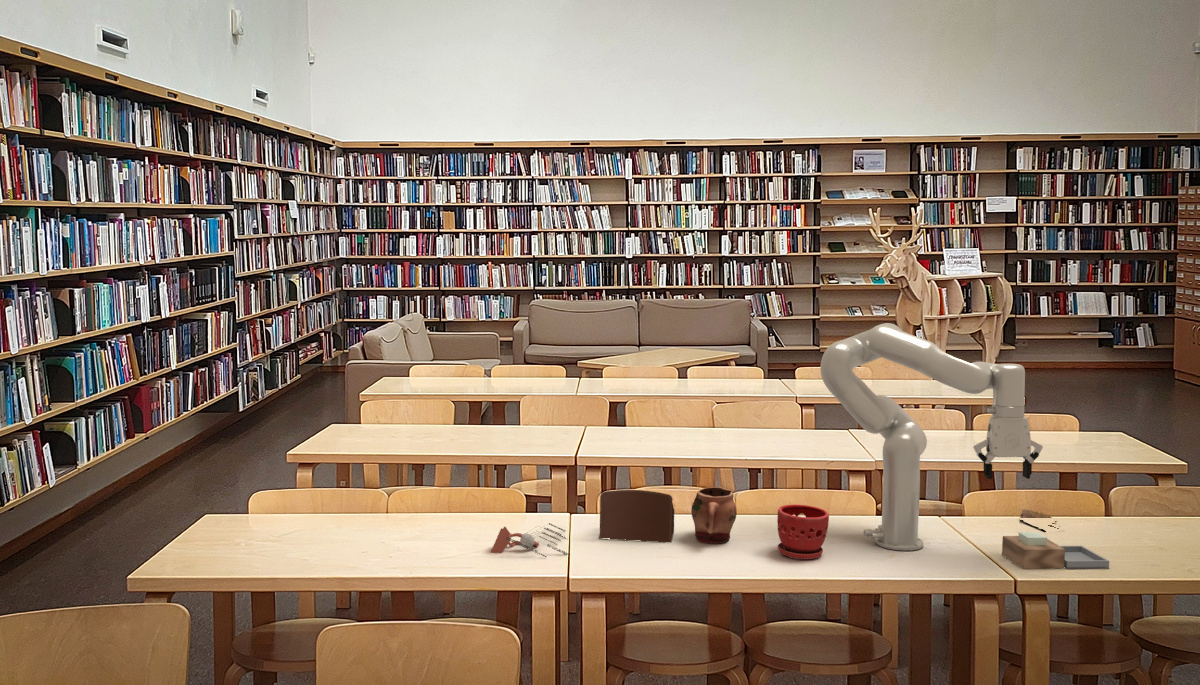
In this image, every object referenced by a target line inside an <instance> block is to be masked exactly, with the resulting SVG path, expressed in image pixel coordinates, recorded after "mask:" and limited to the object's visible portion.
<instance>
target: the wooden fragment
mask: <svg viewBox="0 0 1200 685" xmlns="http://www.w3.org/2000/svg"><path fill="white" fill-rule="evenodd" d="M1020 518H1053V517H1051V516H1050V515H1049V514H1046V513H1044V512H1038V511H1033V510H1030V509H1025V508H1024V509H1022V510H1021V514H1020V517H1019V519H1020ZM1052 524H1056V522H1055V523H1052ZM1048 526H1050V527H1054V526H1052V525H1048ZM1054 528H1056V527H1054ZM1057 529H1059V528H1057Z"/></svg>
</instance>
